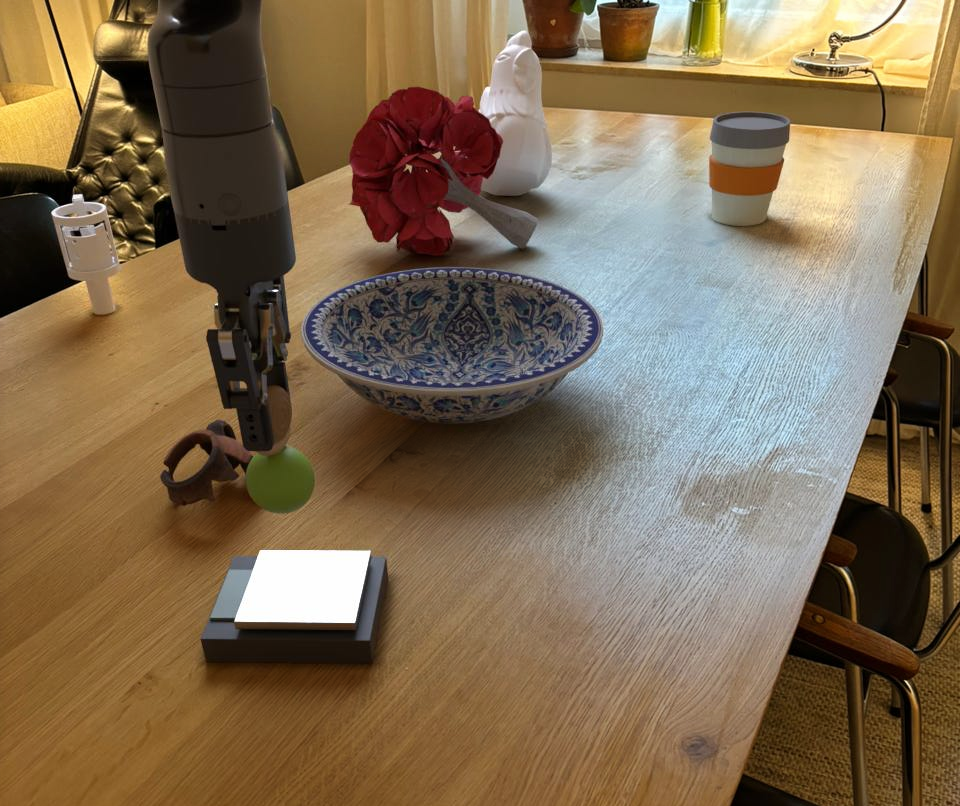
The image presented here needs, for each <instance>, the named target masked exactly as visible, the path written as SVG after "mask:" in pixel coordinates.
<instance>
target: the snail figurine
mask: <svg viewBox="0 0 960 806" xmlns="http://www.w3.org/2000/svg"><path fill="white" fill-rule="evenodd" d="M267 393H268V400H267V401H268V405H269V411H270V417H271V423H272V429H273V435H274V445H273V448H272V449H271V450H270V451H255V452H256V453H255V454H254V455H253V458H252V459H251V461H250V463H249V465H248V467H247V471H246V476H245V486H246V489H247V492H248V494H249V496H250V498H251V499H252V500H253V502H254V503H255V504H256V505H257V506H259V507H260V508H261V509H263V510H265V511H267V512H269V513H272V514H277V515H278V514H279V515H284V514H290V513H294V512H296V511H298V510H299V509H301V508H302V507H304V506H305V505H306V504H307V503H308V501H310V499H311V497H312V495H313V493H314V490H315V485H316V475H315V471H314V467H313V465H312V463H311V462H310V460H309V458H308V457H307V456H306V455H305V454H304V453H302V451H300V450H298V449H296V448H295V447H292V446H290V445H287V443H288V442H289V439H290V436H291V423H292V417H293V407H292V401H290V400H291V397H290V398H289V396H288V394H287V392H286V391H285V390H284V389H283V388H281V387H279V386H276V385H273V386H268V387H267Z"/></svg>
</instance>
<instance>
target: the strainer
mask: <svg viewBox="0 0 960 806" xmlns="http://www.w3.org/2000/svg"><path fill="white" fill-rule="evenodd" d="M88 212H89V213H90V212H93V213H91V214H88ZM71 214H76V215H77V216H66V215H71ZM51 218H52V221H53V224H54V229H55V232H56V235H57V239H58V242H59V243H58V244H59V246H60V250H61V254H62V257H63V261H64V264H65V268H66V271H67V276H68V277H69V278H70V279H72V280H75V281H78V282H79V281H81V282H85V285H86V289H87V293H88V296H89V300H90V304H91V307H92V312H93V314H95V315H99V316H101V315H102V316H103V315H109V314H112V313H114V312H115V311H116V306H115V301H114V298H113V294H112V290H111V285H110V282H109V278H112V277H115V276H116V275H117V274H120V272H121V270H122V269H121V265H120V264H121V263H120V260H119V256H118V251H117V248H116V247H117V246H116V244H115V239H114V235H113V230H112V227H111V223H110V219H109V214H108V209H107V206H106V205H105V204H104V203H100V202H95V201H85V199H84V196H83V193H80V194H79V193H78V194H73V195H72V203H68V204H64V205H60V206H58V207H56V208H54V209H53V210H52V211H51ZM103 221H104V222H103ZM98 223H99V224H98ZM95 224H98V225H97V226H95ZM61 227H62V228H61ZM74 231H79V232H80V235H81V236H72V234H71V232H74ZM74 241H75V242H74Z"/></svg>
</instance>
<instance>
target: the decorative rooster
mask: <svg viewBox="0 0 960 806" xmlns="http://www.w3.org/2000/svg"><path fill="white" fill-rule="evenodd" d="M532 44H533V41H532V39H531V36H530V34H529V32H528V31H527V30H521V31H519V32H518V33H516V34H515V35H513V36H511V37H510V38H509V40H508V41H506V44H505V47H504V49H503V50H502V51H500V52H499V54H498V55H497V56H496V57H495V60H494V62H493V65H492V69H491V76H490V84H489V86H486V87H485V88H484V90H483V92H482V95H481V97H480V101H479V110H478V112H479V113H481V114H483V115H484V116H485V117H487V118H488V119H489V120H490V124H491V127H492V128H494V129H495V130H496V133H497V134H499V135H500V136H501V137H502V140H503V144H502V148H501V151H500V157H499V158H498V160H497V164H496V167H495V169H494V172H493V174H492V175H491V176H490V177H489V178H488V179H486V178H484V177H483V181H482V185H481V189H480V190H481V191H483V192H486V193H487V194H491V195H493V196H505V197H506V196H509V197H519V196H523V195H524V194H527V193H528V192H530V191H532V190H536V189H538V188H539V187H540V186H542V185H543V183H544V182H545V181H546V179H547V177H548V175H549V173H550V171H551V168H552V162H553V149H552V143H551V140H550V136H549V132H548V131H547V128H548V124H547V122H546V117H545V113H544V108H543V101H542V100H543V99H542V87H543V86H542V85H543V72H542V65H541V64H540V63H541V62H540V58H539V57H538V55H537V54H536V52H535V51H534V50H533V48H532V47H533V46H532ZM466 158H467V157H466Z"/></svg>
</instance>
